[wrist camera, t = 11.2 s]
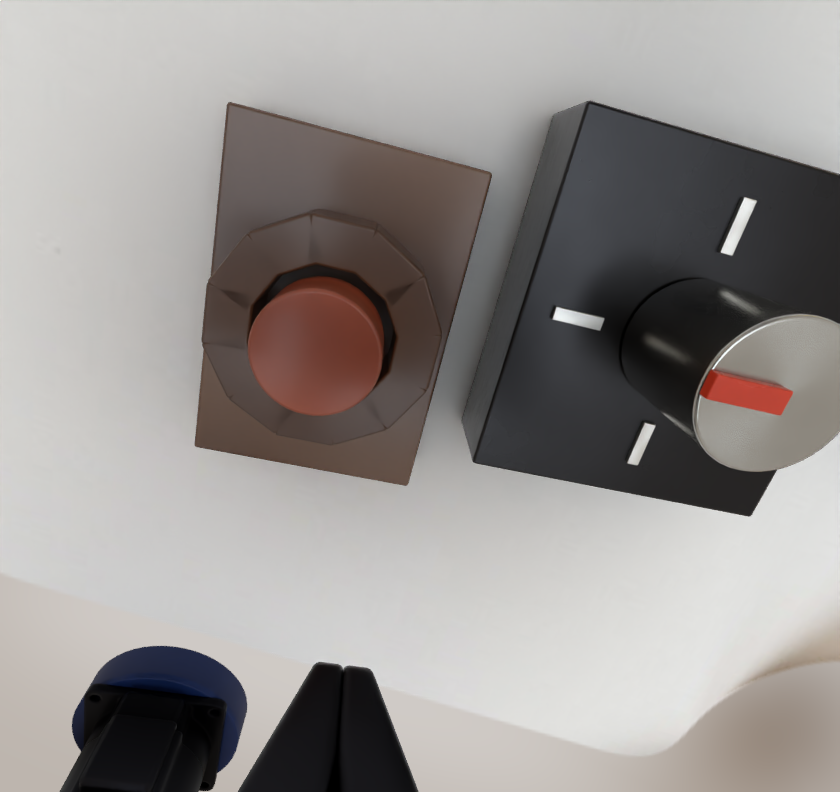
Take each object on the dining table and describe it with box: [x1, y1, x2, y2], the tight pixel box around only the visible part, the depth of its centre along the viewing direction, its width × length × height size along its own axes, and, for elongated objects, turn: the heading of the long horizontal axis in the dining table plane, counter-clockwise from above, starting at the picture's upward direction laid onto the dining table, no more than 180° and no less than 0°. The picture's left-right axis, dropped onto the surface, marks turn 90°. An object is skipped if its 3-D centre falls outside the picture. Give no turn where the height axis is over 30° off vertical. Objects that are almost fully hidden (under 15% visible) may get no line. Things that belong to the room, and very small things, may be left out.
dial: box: [621, 279, 840, 472], centre depth 13 cm, size 4×4×4 cm
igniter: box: [195, 102, 492, 486], centre depth 15 cm, size 10×7×4 cm
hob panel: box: [462, 101, 840, 516], centre depth 16 cm, size 10×10×3 cm
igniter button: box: [248, 276, 384, 416], centre depth 13 cm, size 3×3×2 cm
